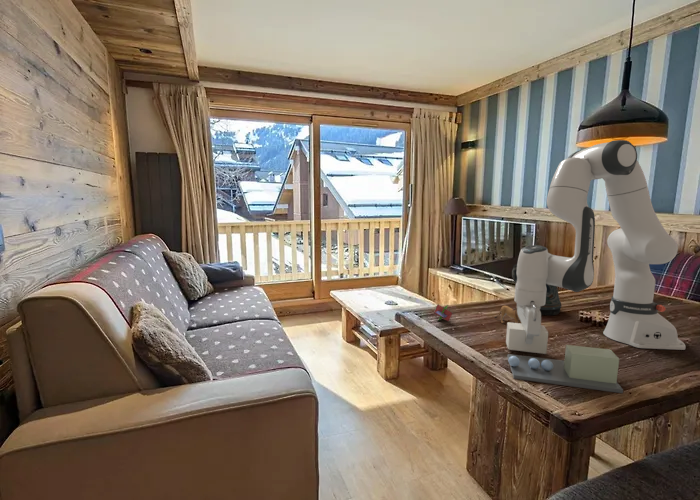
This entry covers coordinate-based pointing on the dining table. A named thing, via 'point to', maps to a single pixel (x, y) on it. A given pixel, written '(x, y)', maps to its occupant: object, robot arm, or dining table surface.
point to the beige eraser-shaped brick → (517, 339)
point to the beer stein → (552, 297)
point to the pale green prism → (591, 364)
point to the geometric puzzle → (442, 313)
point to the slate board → (556, 375)
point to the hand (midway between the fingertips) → (526, 338)
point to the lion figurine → (510, 312)
